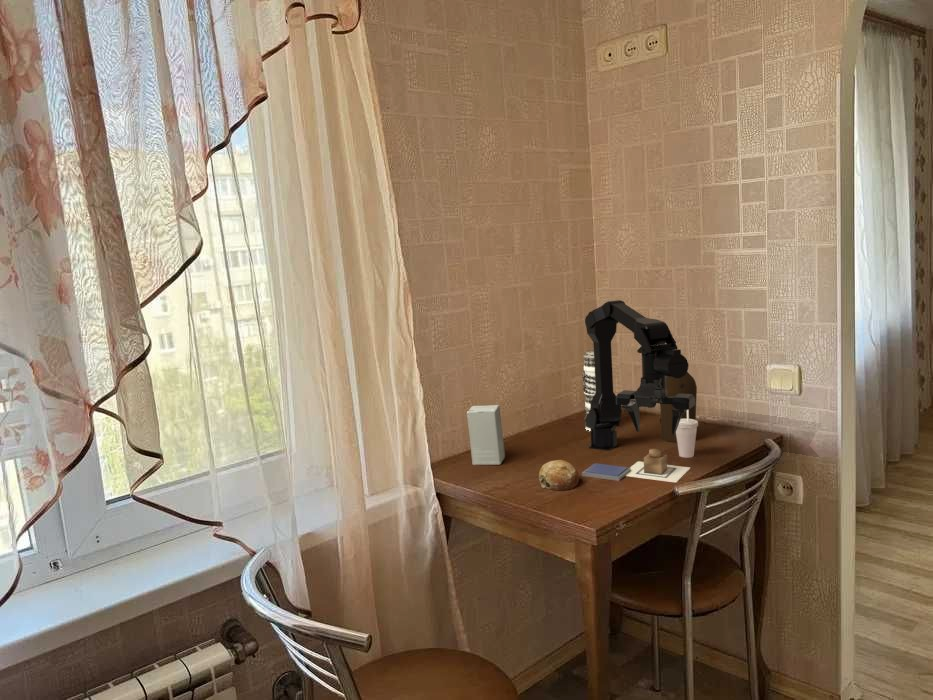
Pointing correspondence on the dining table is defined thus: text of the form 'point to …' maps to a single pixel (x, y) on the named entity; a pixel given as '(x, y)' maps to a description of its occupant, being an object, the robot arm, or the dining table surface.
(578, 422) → the dining table surface
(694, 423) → the smoothie
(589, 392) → the decorative candle
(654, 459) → the stamp
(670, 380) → the olive oil
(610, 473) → the ink pad
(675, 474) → the sheet
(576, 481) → the bread roll
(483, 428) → the skincare box
